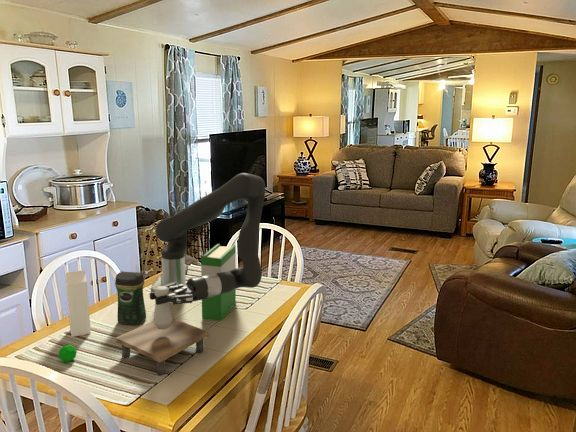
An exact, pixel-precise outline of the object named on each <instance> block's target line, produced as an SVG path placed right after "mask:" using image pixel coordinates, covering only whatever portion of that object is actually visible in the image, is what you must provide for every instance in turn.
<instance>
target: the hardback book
mask: <svg viewBox="0 0 576 432" xmlns="http://www.w3.org/2000/svg"><path fill="white" fill-rule="evenodd" d="M236 252H237V251H236V244H233V245H232V246H224V245H223V246H222V245H221V244H220V243H217V244H215V245H214V246H213V247H212V248H210V249H209V250H208V251H207V252H205V253H204V254H203V255H202V256H201V257H200V260H201V261H200V263H201V264H200V265H201V266H200V268H201V269H200V270H201V272H200V273H201V275H200V276H203V275H208V274H216V273H221V272H227V271H230V270H233V269H236V268H237V266H236V265H237V263H236V262H237V261H236V260H237V259H236V258H237V257H236V256H237V254H236ZM236 293H237V288H236V289H234V290H232V291H230V292H227V293H223V294H219V295H216V296H214V297H210V298H206V299H202V300H201V319H202V320H206V321H207V320H208V321H215V322H223V320H224V318H225V317H226V316H227V315H228V313H229V311H231V309H232V308H233V306H234V305H235V304H236V302H237V301H236V296H237V295H236Z"/></svg>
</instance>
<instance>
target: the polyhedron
mask: <svg viewBox="0 0 576 432" xmlns="http://www.w3.org/2000/svg"><path fill="white" fill-rule="evenodd" d="M76 356H77V349H76V347H75V346H74V345H71V344H66V345H63V346H62V347H60V348H59V351H58V358H59V359H60V361H62V362H64V363H68V362H72V361H73V360H74V359H75V358H76Z"/></svg>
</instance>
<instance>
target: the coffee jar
mask: <svg viewBox="0 0 576 432" xmlns="http://www.w3.org/2000/svg"><path fill="white" fill-rule="evenodd" d="M114 281H115V282H114V286H115V288H116V292H117V293H116V294H117V314H116V315H117V316H116V317H117V322H118V323H119V324H121V325H122V324H123V325H132V326H136V325H140V324H142V323H143V322H144V321H145V320H146V319H147V310H146V305H145V299H144V285H145V278H144V274H143V272H135V271H134V272H133V271H123V270H122V271H120V272H118V273H117V274H116V276H115V280H114Z"/></svg>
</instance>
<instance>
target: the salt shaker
mask: <svg viewBox="0 0 576 432" xmlns="http://www.w3.org/2000/svg"><path fill="white" fill-rule="evenodd" d="M168 294H169V289H168V287H166V286H159V287H157V288H156V289H155V296H157V297H160V296H165V295H168ZM172 318H173V314H172V310H171V305H170V303H169V302H168V303H164V304H159V305H157V304H156V303H155V307H154V315H153V321H154V324H155V325H156V326H157V328H158V329H163V330H164V329H167V328H169V327H170V325H171V323H172Z"/></svg>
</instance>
